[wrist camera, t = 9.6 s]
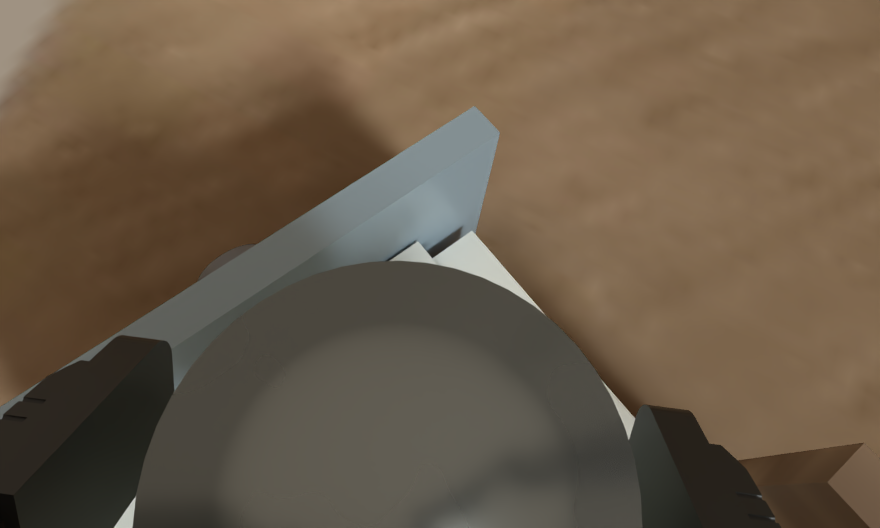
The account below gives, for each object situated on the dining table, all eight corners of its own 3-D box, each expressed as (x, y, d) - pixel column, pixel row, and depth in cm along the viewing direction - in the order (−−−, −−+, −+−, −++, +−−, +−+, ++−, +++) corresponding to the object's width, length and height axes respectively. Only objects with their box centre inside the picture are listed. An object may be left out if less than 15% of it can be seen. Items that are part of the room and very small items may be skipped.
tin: (421, 358, 17) (439, 184, 8) (546, 522, 16) (745, 542, 6) (255, 482, 16) (40, 444, 6) (376, 673, 14) (321, 977, 5)
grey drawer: (436, 187, 21) (445, 74, 16) (706, 499, 18) (840, 495, 12) (43, 449, 18) (-126, 421, 12) (290, 910, 14) (214, 1173, 8)
